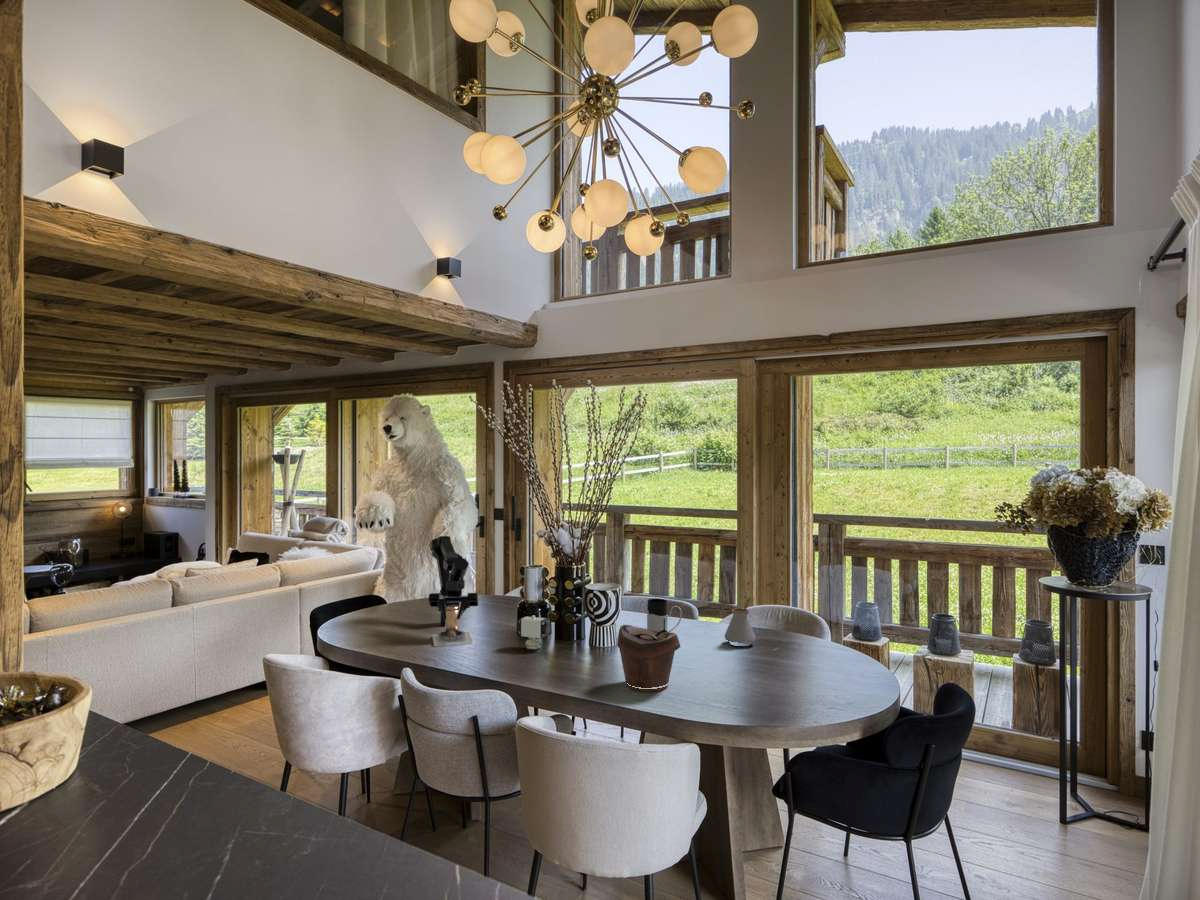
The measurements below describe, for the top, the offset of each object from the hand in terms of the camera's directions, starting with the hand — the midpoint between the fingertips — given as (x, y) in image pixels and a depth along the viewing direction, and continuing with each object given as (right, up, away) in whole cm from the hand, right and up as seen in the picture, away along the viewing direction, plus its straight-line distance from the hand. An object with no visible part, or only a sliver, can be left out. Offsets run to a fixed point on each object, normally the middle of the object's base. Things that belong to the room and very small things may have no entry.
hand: (451, 618), depth 262 cm
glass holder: (+81, -9, +2) cm, 81 cm away
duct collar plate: (0, -8, +1) cm, 9 cm away
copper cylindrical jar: (0, -7, +1) cm, 7 cm away
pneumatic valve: (+32, -9, -9) cm, 34 cm away
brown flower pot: (+71, -9, -50) cm, 87 cm away
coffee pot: (+111, -9, +2) cm, 112 cm away
